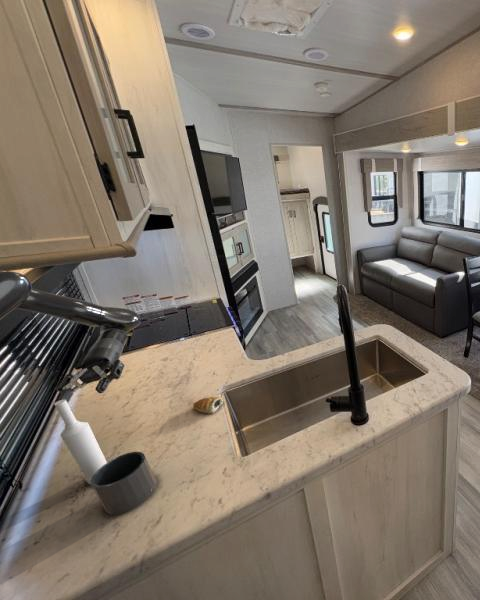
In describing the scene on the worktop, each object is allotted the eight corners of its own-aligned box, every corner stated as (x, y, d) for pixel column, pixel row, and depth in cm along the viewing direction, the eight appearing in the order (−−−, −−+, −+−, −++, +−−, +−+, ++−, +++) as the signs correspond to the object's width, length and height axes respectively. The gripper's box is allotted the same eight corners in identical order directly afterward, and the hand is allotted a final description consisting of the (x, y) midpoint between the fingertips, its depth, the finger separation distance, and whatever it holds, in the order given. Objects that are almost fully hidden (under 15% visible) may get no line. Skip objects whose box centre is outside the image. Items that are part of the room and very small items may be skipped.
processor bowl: (99, 523, 72) (83, 495, 69) (111, 489, 80) (98, 463, 77) (153, 500, 76) (140, 473, 73) (159, 470, 85) (148, 445, 82)
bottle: (87, 476, 84) (46, 402, 76) (112, 465, 87) (75, 392, 79) (87, 489, 81) (43, 412, 72) (112, 476, 84) (73, 401, 75)
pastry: (189, 413, 107) (185, 404, 105) (203, 400, 113) (200, 392, 112) (213, 414, 105) (210, 405, 104) (226, 401, 112) (223, 393, 110)
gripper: (68, 354, 92) (38, 397, 79) (122, 340, 95) (101, 379, 83) (86, 370, 96) (60, 413, 84) (137, 356, 100) (119, 395, 87)
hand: (81, 396), depth 83 cm, fingers open, 8 cm apart
